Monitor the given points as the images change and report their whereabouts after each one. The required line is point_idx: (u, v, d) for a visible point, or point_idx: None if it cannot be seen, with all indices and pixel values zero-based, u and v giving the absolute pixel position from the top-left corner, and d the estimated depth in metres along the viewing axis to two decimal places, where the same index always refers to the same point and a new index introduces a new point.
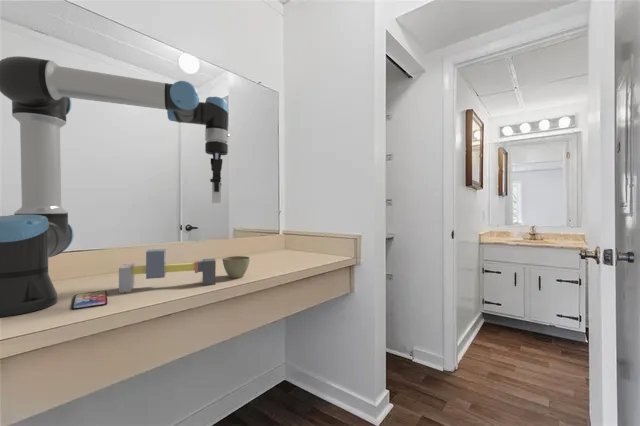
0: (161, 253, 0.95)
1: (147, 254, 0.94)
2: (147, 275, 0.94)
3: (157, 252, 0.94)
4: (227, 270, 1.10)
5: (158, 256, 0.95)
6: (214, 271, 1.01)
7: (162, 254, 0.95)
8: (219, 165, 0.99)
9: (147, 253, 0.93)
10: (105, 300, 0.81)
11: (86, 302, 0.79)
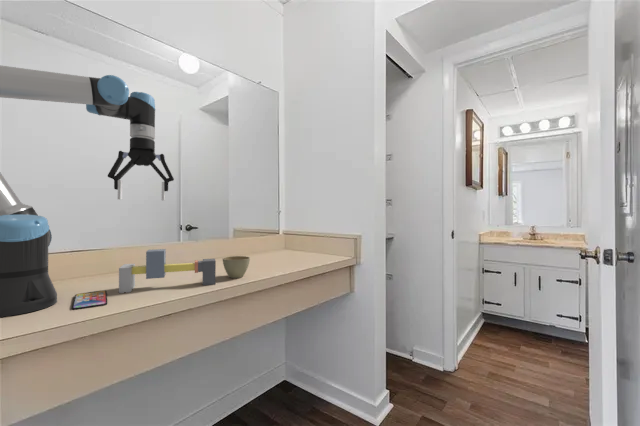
0: (161, 253, 0.95)
1: (147, 254, 0.94)
2: (147, 275, 0.94)
3: (157, 252, 0.94)
4: (227, 270, 1.10)
5: (158, 256, 0.95)
6: (214, 271, 1.01)
7: (162, 254, 0.95)
8: None
9: (147, 253, 0.93)
10: (105, 300, 0.81)
11: (86, 302, 0.79)
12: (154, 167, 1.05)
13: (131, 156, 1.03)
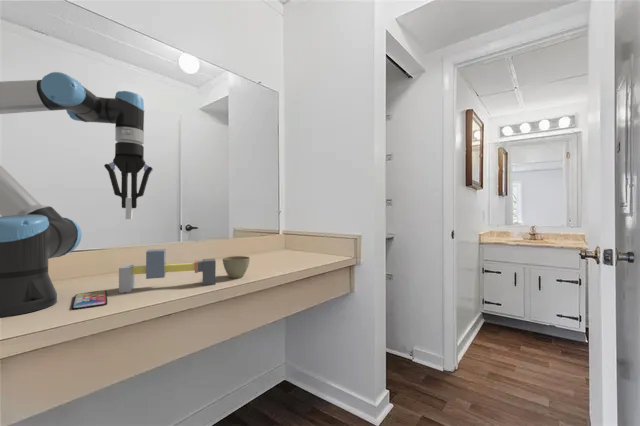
0: (161, 253, 0.95)
1: (147, 254, 0.94)
2: (147, 275, 0.94)
3: (157, 252, 0.94)
4: (227, 270, 1.10)
5: (158, 256, 0.95)
6: (214, 271, 1.01)
7: (162, 254, 0.95)
8: None
9: (147, 253, 0.93)
10: (105, 300, 0.81)
11: (86, 302, 0.79)
12: (133, 177, 0.93)
13: (119, 163, 0.92)
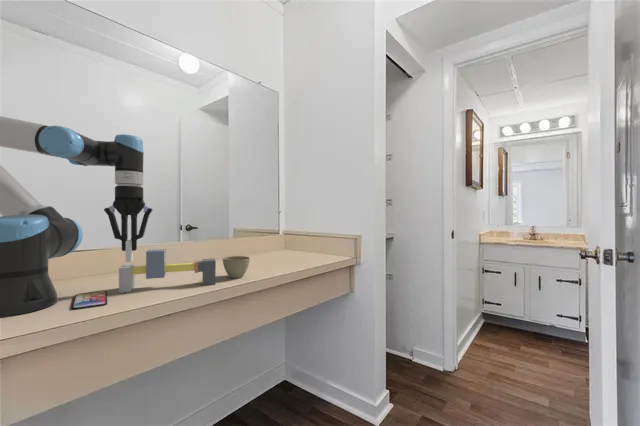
0: (161, 253, 0.95)
1: (147, 254, 0.94)
2: (147, 275, 0.94)
3: (157, 252, 0.94)
4: (227, 270, 1.10)
5: (158, 256, 0.95)
6: (214, 271, 1.01)
7: (162, 254, 0.95)
8: None
9: (147, 253, 0.93)
10: (105, 300, 0.81)
11: (86, 302, 0.79)
12: (132, 220, 0.93)
13: (118, 206, 0.92)
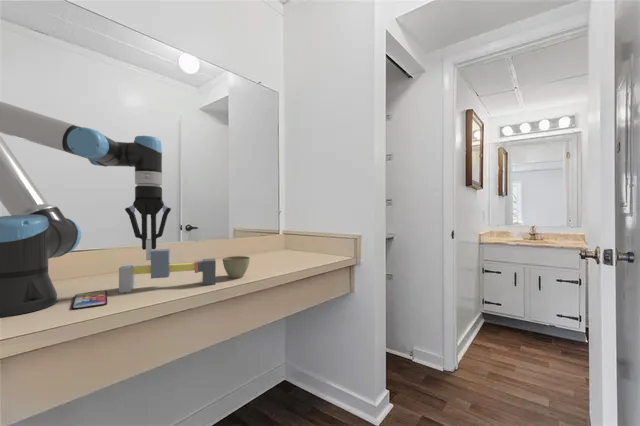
0: (166, 252, 0.95)
1: (152, 254, 0.94)
2: (151, 275, 0.94)
3: (162, 252, 0.95)
4: (227, 270, 1.10)
5: (163, 256, 0.95)
6: (214, 271, 1.01)
7: (167, 254, 0.96)
8: None
9: (152, 253, 0.94)
10: (105, 300, 0.81)
11: (86, 302, 0.79)
12: (152, 219, 0.95)
13: (138, 205, 0.94)
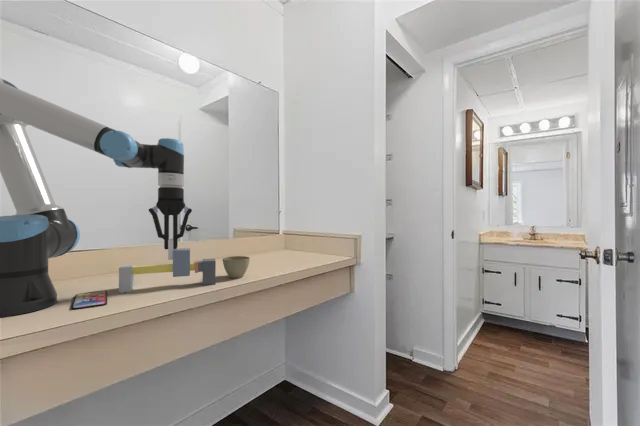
0: (187, 251, 0.98)
1: (174, 253, 0.96)
2: (173, 274, 0.97)
3: (183, 251, 0.97)
4: (227, 270, 1.10)
5: (184, 255, 0.97)
6: (214, 271, 1.01)
7: (188, 253, 0.98)
8: (154, 222, 0.95)
9: (174, 252, 0.96)
10: (105, 300, 0.81)
11: (86, 302, 0.79)
12: (174, 220, 0.97)
13: (161, 206, 0.96)
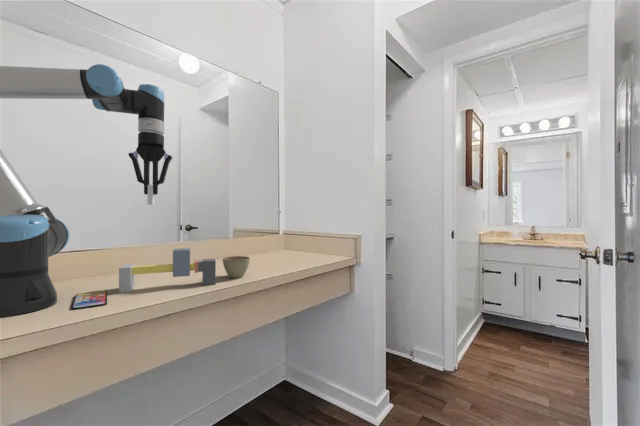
0: (187, 251, 0.98)
1: (174, 253, 0.96)
2: (173, 274, 0.97)
3: (183, 251, 0.97)
4: (227, 270, 1.10)
5: (184, 255, 0.97)
6: (214, 271, 1.01)
7: (188, 253, 0.98)
8: None
9: (174, 252, 0.96)
10: (105, 300, 0.81)
11: (86, 302, 0.79)
12: (154, 165, 0.99)
13: (141, 151, 0.98)
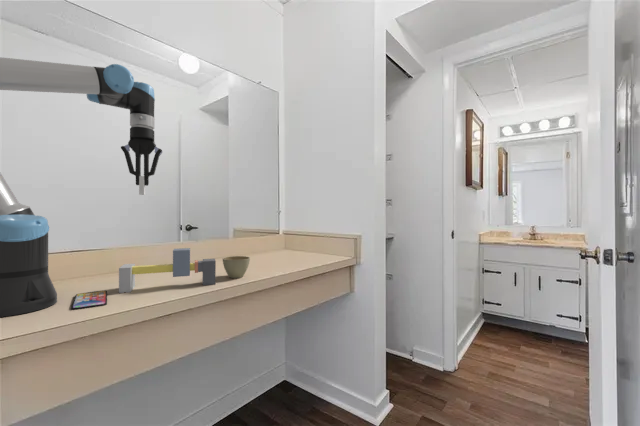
0: (187, 251, 0.98)
1: (174, 253, 0.96)
2: (173, 274, 0.97)
3: (183, 251, 0.97)
4: (227, 270, 1.10)
5: (184, 255, 0.97)
6: (214, 271, 1.01)
7: (188, 253, 0.98)
8: (126, 159, 1.04)
9: (174, 252, 0.96)
10: (105, 300, 0.81)
11: (86, 302, 0.79)
12: (145, 158, 1.06)
13: (133, 145, 1.05)
